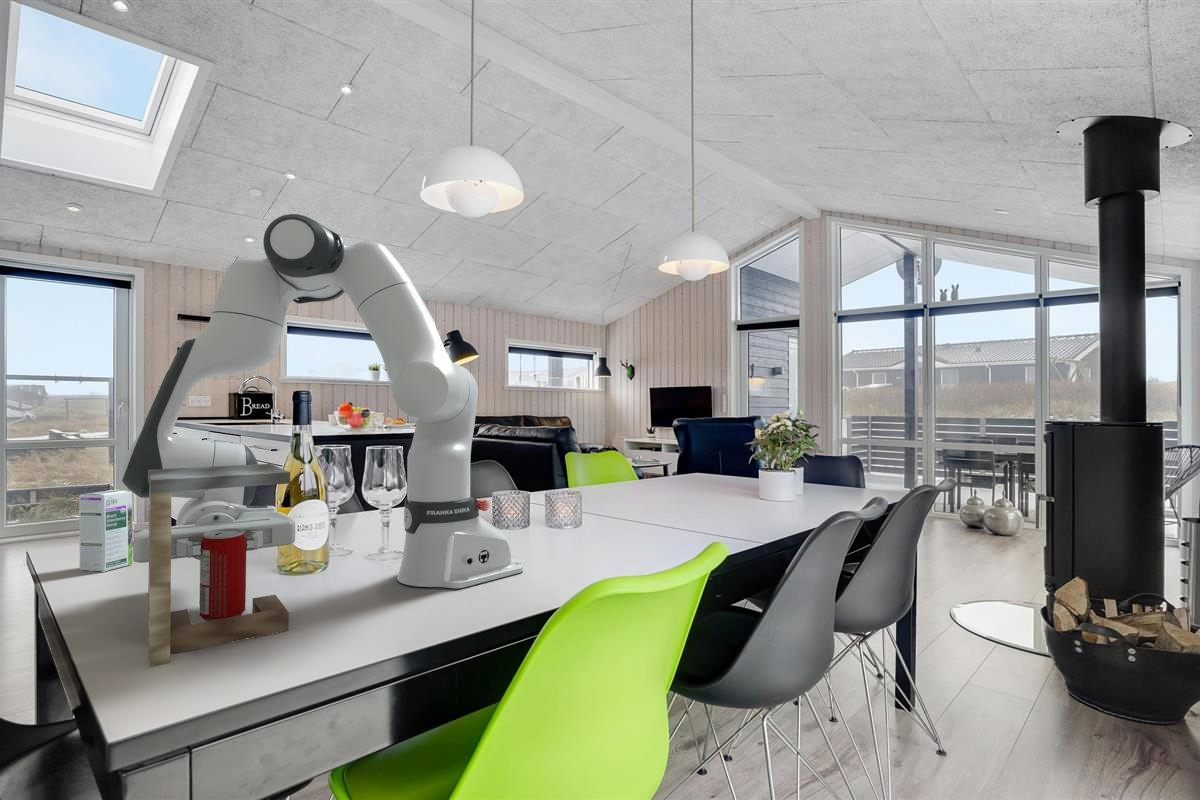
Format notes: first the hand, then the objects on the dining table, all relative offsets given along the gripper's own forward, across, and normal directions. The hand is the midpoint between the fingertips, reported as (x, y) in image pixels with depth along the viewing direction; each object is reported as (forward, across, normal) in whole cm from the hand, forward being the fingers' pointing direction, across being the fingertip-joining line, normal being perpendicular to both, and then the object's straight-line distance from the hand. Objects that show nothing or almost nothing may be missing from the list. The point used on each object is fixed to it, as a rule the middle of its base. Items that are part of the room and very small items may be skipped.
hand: (224, 547), depth 85 cm
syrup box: (-51, -14, +12) cm, 54 cm away
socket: (+1, 0, +11) cm, 11 cm away
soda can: (-1, 0, +10) cm, 10 cm away
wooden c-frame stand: (+2, -1, +11) cm, 11 cm away
